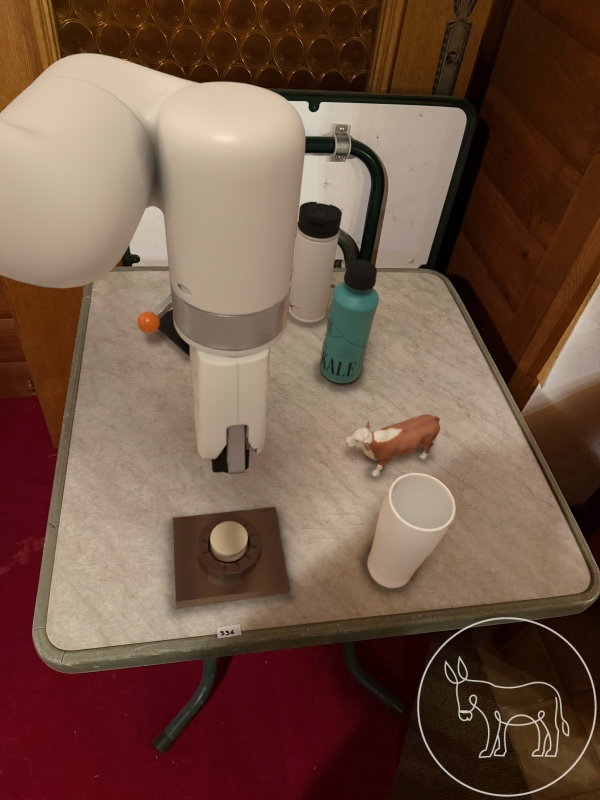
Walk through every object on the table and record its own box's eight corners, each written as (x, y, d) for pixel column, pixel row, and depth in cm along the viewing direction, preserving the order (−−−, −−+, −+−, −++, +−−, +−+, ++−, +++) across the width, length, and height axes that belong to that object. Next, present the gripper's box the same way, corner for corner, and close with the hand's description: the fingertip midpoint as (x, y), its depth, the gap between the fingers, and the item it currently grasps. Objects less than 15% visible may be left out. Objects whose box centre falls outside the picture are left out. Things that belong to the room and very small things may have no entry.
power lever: (152, 341, 81) (141, 330, 79) (139, 329, 83) (129, 318, 80) (215, 280, 83) (207, 267, 80) (201, 270, 85) (193, 256, 82)
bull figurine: (335, 461, 75) (344, 422, 69) (421, 438, 79) (437, 399, 73) (348, 487, 72) (359, 450, 66) (437, 462, 76) (455, 424, 70)
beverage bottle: (350, 358, 88) (375, 249, 74) (366, 388, 84) (396, 279, 69) (311, 364, 87) (329, 253, 72) (325, 395, 83) (347, 285, 68)
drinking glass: (350, 552, 66) (375, 482, 55) (399, 534, 68) (433, 463, 57) (377, 605, 62) (410, 541, 51) (428, 584, 64) (470, 518, 53)
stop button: (212, 564, 60) (211, 557, 58) (209, 530, 62) (208, 523, 61) (249, 559, 60) (249, 552, 59) (245, 526, 63) (245, 519, 62)
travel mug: (284, 325, 92) (295, 214, 77) (291, 300, 96) (303, 192, 82) (321, 332, 92) (340, 222, 77) (327, 307, 96) (345, 199, 81)
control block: (177, 610, 60) (174, 595, 57) (173, 526, 66) (171, 509, 63) (287, 595, 62) (290, 579, 59) (274, 515, 68) (276, 498, 65)
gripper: (168, 237, 40) (183, 404, 54) (176, 389, 31) (191, 545, 44) (271, 235, 42) (260, 398, 55) (309, 380, 32) (284, 534, 46)
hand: (229, 463), depth 50 cm, fingers closed
